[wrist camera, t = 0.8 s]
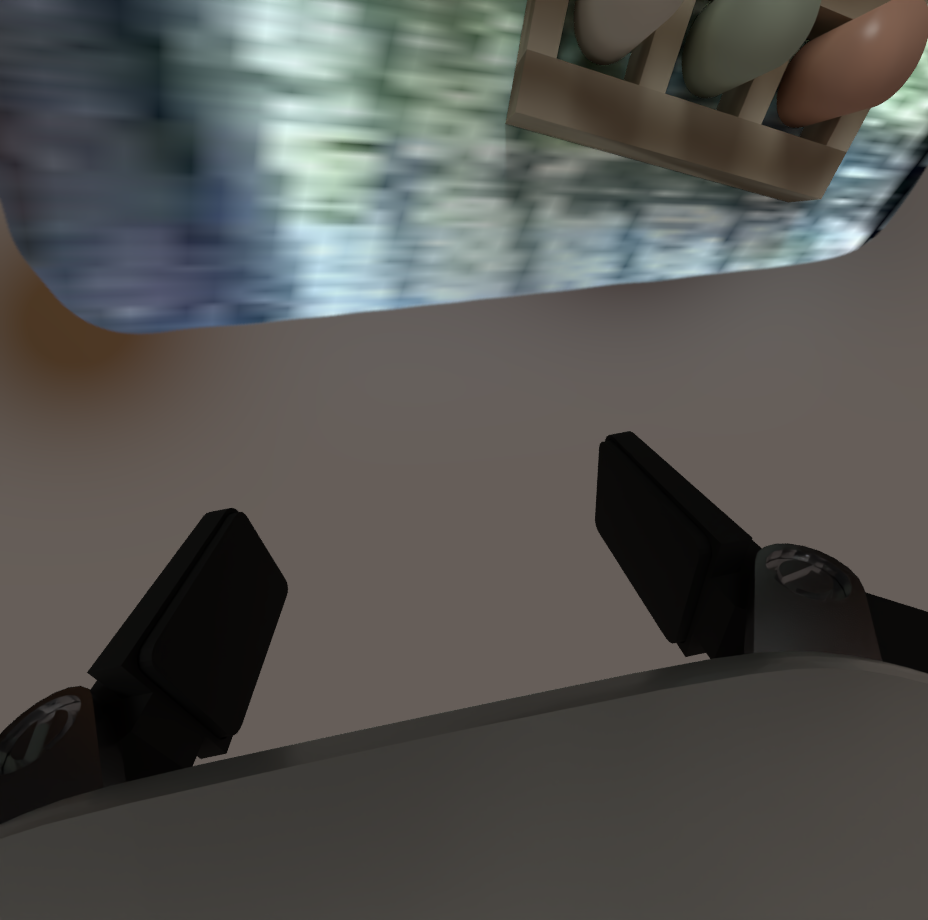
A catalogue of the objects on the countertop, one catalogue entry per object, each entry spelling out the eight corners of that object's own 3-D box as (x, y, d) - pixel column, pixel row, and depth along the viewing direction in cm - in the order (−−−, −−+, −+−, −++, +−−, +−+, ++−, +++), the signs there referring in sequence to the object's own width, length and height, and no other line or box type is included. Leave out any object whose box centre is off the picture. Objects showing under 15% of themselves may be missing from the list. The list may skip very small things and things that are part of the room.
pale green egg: (703, -15, 23) (769, -72, 19) (766, 10, 24) (842, -39, 20) (669, 88, 25) (721, 58, 21) (727, 107, 26) (787, 82, 22)
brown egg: (804, 25, 25) (886, -19, 20) (859, 47, 26) (948, 9, 21) (763, 119, 27) (829, 96, 23) (815, 135, 28) (887, 117, 24)
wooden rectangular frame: (553, -148, 21) (572, -200, 19) (890, 1, 26) (942, -25, 24) (505, 123, 27) (515, 111, 25) (788, 202, 32) (821, 199, 30)
